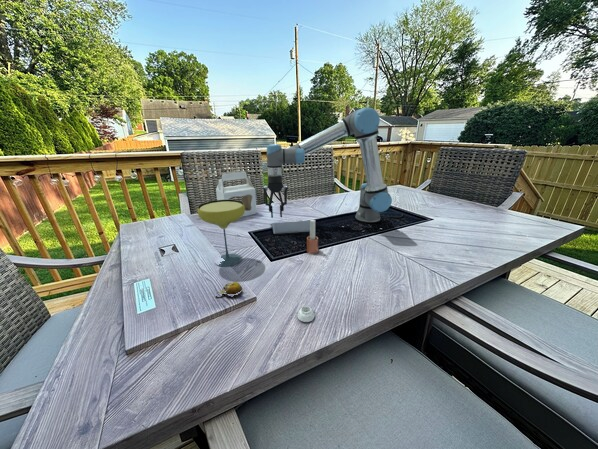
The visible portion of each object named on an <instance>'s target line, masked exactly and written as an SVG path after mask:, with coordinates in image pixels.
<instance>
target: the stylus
mask: <svg viewBox="0 0 598 449" xmlns="http://www.w3.org/2000/svg"><path fill="white" fill-rule="evenodd" d="M309 221H310V233H309V236H310V240H315V236H316V219H310V220H309Z"/></svg>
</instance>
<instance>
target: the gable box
mask: <svg viewBox="0 0 598 449" xmlns="http://www.w3.org/2000/svg"><path fill="white" fill-rule="evenodd" d="M220 177H221V178H219V179H217V186H216V189H215V194H216V200H231V198H234V197H242V201H241V202H243V204H244V207H245V212H244V214H243V215H242V216H241V217H240V218H243V217H247V216H252V215H257V214H258V208H257V194H256V188H255V185H254V184H253V182H252V180H251V175H247V172H246V171H237V172H236V171H235V172H226V173H222V174H221V175H220ZM236 180H245V183H244V184H237V185H230V186H224V183H225V182H229V181H236Z"/></svg>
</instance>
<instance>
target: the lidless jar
mask: <svg viewBox="0 0 598 449" xmlns="http://www.w3.org/2000/svg"><path fill="white" fill-rule="evenodd" d="M297 319H298V320H299V321H300V322H303V323H309V322H312V321H313V320H314V319H315V313H314V311H313V309H312V308H311V307H310V306H308V305H303V306H302V307H301V308H300V309H299V310H298V312H297Z"/></svg>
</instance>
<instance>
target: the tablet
mask: <svg viewBox="0 0 598 449" xmlns="http://www.w3.org/2000/svg"><path fill="white" fill-rule="evenodd" d="M271 227H272V233H273V234H272V235H273V236H285V235H299V234H310V220H298V221H297V220H296V221H282V222H281V221H279V222H271Z"/></svg>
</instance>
